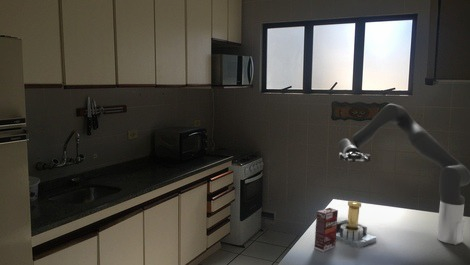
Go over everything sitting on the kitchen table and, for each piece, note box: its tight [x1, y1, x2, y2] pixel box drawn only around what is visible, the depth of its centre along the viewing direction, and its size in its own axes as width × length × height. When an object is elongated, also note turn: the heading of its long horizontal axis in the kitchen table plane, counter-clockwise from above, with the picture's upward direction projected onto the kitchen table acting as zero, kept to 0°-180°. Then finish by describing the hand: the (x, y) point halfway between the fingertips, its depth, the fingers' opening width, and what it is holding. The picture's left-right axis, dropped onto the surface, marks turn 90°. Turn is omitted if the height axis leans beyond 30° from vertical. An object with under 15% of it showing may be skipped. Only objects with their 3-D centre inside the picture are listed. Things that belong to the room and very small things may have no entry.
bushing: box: [347, 200, 362, 230], centre depth 176 cm, size 6×6×14 cm
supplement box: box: [313, 207, 339, 253], centre depth 165 cm, size 9×5×16 cm, turn 131°
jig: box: [336, 219, 377, 249], centre depth 176 cm, size 16×13×5 cm
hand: (356, 159), depth 188 cm, fingers open, 8 cm apart
